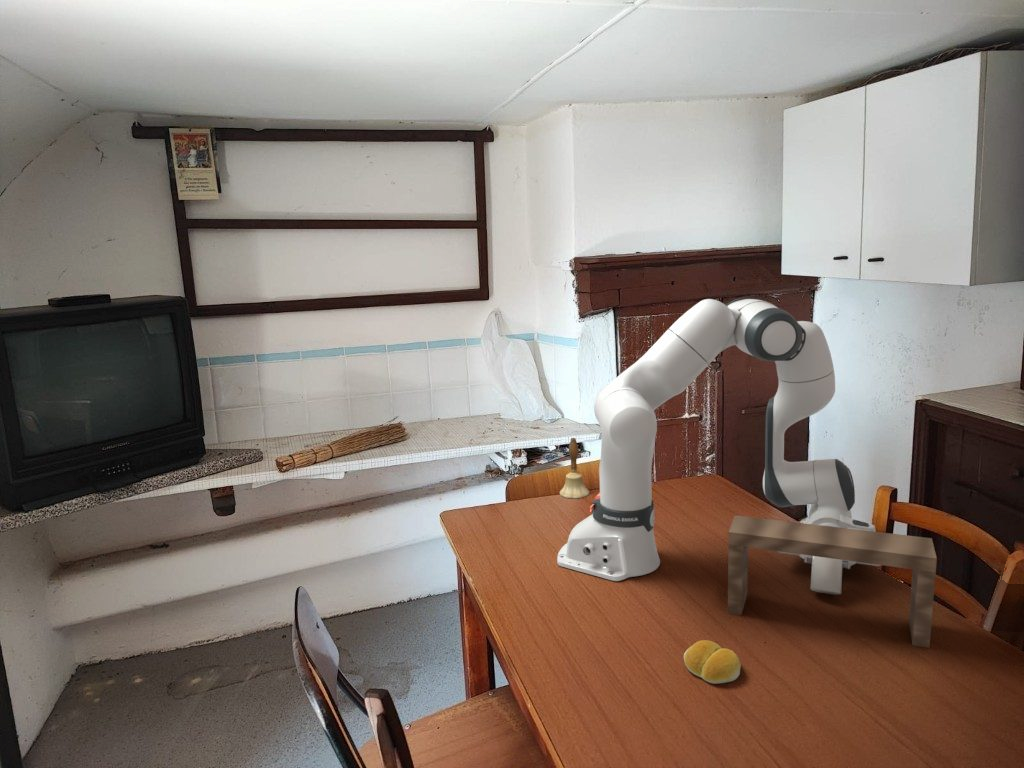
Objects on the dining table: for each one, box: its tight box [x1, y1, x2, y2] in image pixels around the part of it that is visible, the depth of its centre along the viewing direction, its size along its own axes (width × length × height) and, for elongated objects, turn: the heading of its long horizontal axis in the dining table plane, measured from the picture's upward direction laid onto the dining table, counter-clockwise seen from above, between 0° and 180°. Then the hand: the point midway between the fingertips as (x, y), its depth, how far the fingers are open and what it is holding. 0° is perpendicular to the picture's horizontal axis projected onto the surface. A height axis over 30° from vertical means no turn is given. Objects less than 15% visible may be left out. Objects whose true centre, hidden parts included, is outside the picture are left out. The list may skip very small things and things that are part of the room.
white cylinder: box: [810, 556, 843, 595], centre depth 138 cm, size 5×5×11 cm
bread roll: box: [683, 639, 742, 685], centre depth 117 cm, size 8×9×4 cm
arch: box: [727, 515, 938, 649], centre depth 128 cm, size 33×8×16 cm, turn 65°
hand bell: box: [559, 437, 590, 499], centre depth 195 cm, size 8×8×16 cm
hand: (827, 562), depth 138 cm, fingers closed on white cylinder, 5 cm apart
